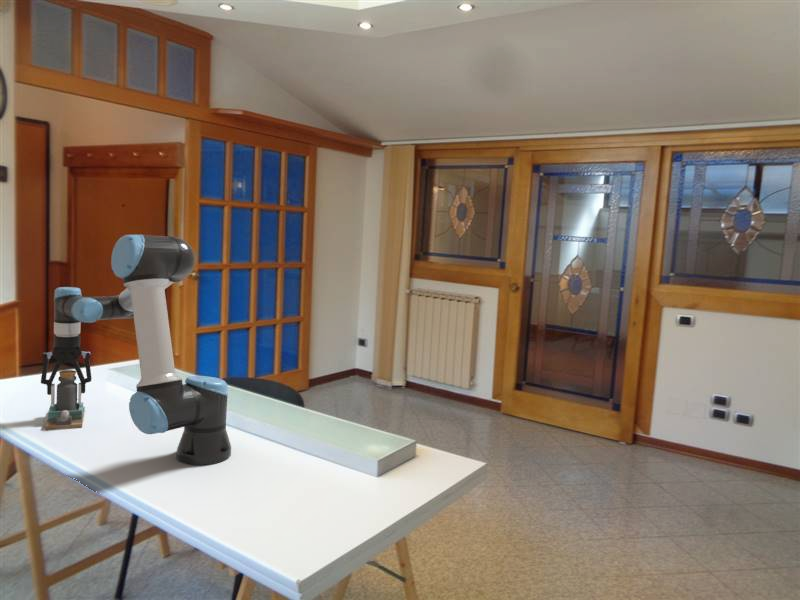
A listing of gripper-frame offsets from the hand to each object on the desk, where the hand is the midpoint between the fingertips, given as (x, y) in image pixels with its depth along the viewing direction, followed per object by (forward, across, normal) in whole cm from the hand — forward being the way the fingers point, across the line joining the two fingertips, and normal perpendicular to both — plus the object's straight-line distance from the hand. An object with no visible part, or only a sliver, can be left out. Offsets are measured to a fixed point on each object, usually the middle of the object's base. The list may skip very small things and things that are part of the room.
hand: (66, 403), depth 192 cm
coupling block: (+6, 0, 0) cm, 6 cm away
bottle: (+4, 0, 0) cm, 4 cm away
